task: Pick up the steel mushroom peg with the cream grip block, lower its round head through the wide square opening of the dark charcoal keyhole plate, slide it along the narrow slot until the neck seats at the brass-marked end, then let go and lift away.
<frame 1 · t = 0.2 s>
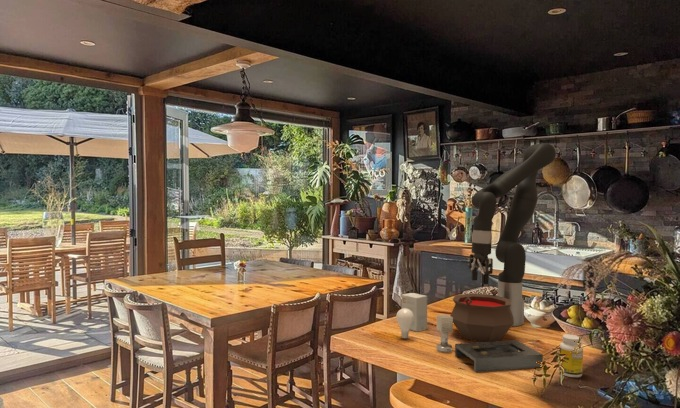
hand: (479, 282, 186), 17 cm above the kitchen island, tool pointing down, fingers open, 8 cm apart
keyhole peg: (444, 350, 157), on the kitchen island
brown cooking pot: (481, 336, 172), on the kitchen island
pill bottle: (570, 374, 137), on the kitchen island
small box: (414, 328, 182), on the kitchen island
lightbulb: (404, 339, 169), on the kitchen island
keyhole plate: (497, 361, 146), on the kitchen island
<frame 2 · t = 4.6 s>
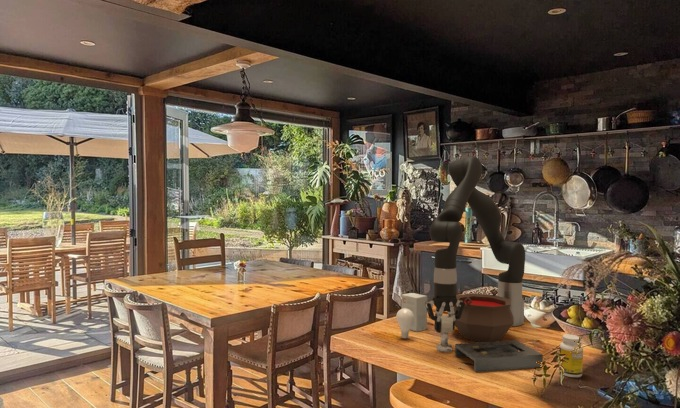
hand: (444, 331, 156), 6 cm above the kitchen island, tool pointing down, fingers closed on keyhole peg, 4 cm apart
keyhole peg: (444, 350, 157), on the kitchen island, touching gripper
everything else where it was.
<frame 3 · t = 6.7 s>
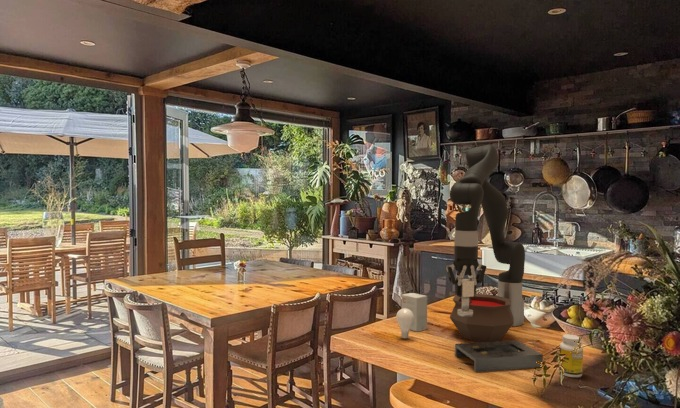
hand: (465, 296, 153), 19 cm above the kitchen island, tool pointing down, fingers closed on keyhole peg, 4 cm apart
keyhole peg: (465, 314, 153), point 13 cm above the kitchen island, touching gripper
everything else where it was.
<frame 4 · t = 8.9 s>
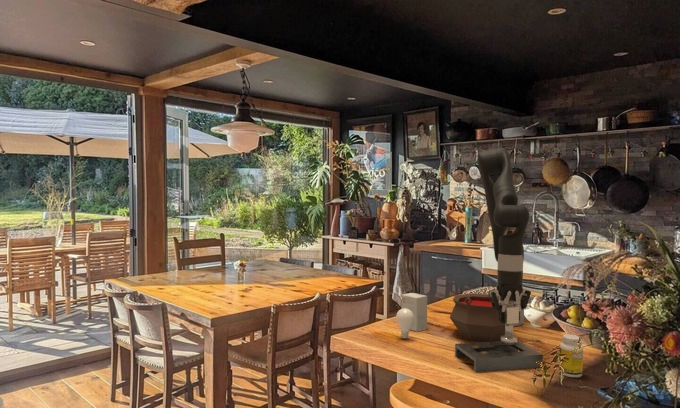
hand: (509, 322, 147), 12 cm above the kitchen island, tool pointing down, fingers closed on keyhole peg, 4 cm apart
keyhole peg: (508, 342, 147), point 6 cm above the kitchen island, touching gripper
everything else where it was.
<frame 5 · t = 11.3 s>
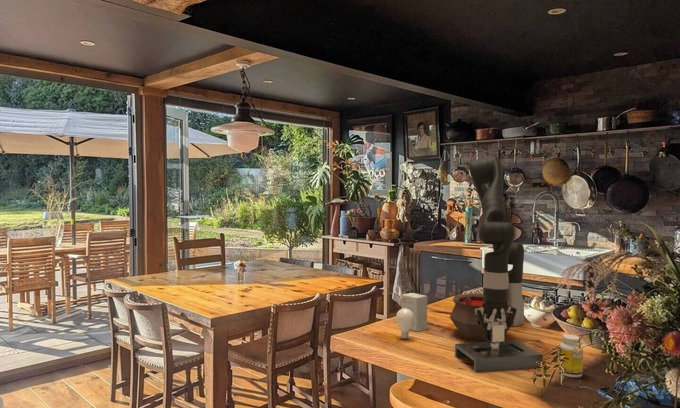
hand: (494, 340, 146), 7 cm above the kitchen island, tool pointing down, fingers closed on keyhole peg, 4 cm apart
keyhole peg: (494, 360, 146), point 1 cm above the kitchen island, touching gripper
everything else where it was.
when the fingers open (7 cm above the kitchen island, at t = 13.5 s): keyhole peg stays where it is, on the kitchen island.
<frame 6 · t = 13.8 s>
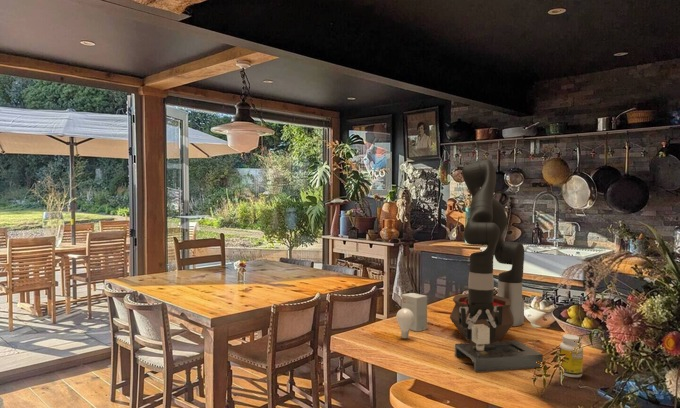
hand: (480, 339, 145), 7 cm above the kitchen island, tool pointing down, fingers open, 7 cm apart
keyhole peg: (479, 362, 145), on the kitchen island
everything else where it was.
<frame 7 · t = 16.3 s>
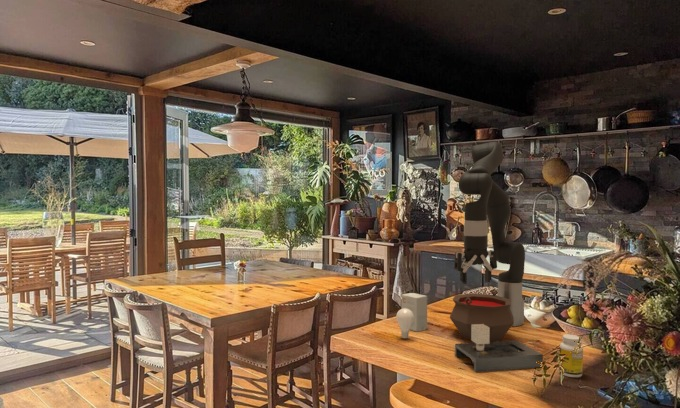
hand: (475, 282, 154), 23 cm above the kitchen island, tool pointing down, fingers open, 8 cm apart
nothing on the kitchen island moved.
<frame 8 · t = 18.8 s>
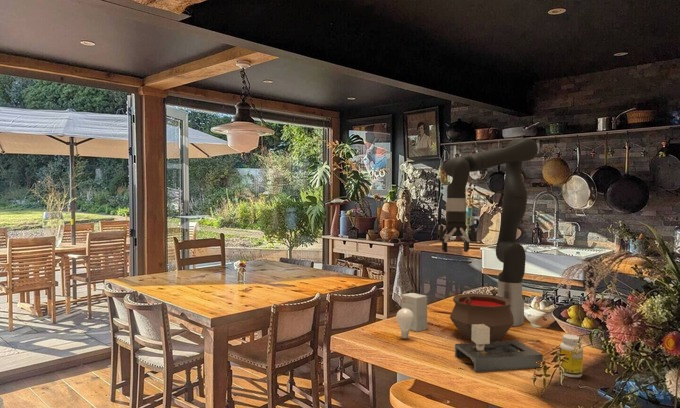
hand: (455, 251, 180), 30 cm above the kitchen island, tool pointing down, fingers open, 8 cm apart
nothing on the kitchen island moved.
at the end: keyhole peg 0.1 cm from the target spot on the keyhole plate, point 0.0 cm above the keyhole plate's base; keyhole peg tilted 0°; the gripper is holding nothing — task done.
